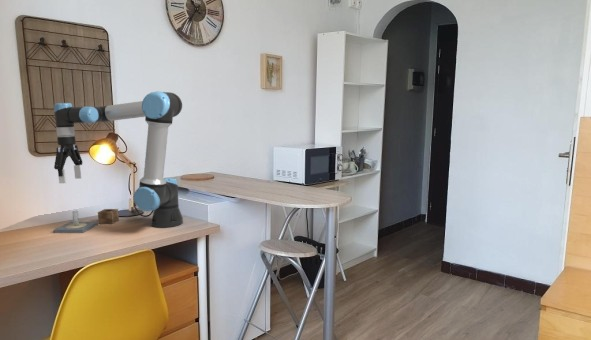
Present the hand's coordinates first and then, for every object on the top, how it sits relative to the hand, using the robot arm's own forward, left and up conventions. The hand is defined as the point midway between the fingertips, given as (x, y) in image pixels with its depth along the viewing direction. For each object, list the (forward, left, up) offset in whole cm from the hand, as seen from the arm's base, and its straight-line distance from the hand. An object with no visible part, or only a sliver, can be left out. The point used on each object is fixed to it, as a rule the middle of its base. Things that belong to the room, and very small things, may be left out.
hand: (70, 180), depth 206 cm
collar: (-12, -10, -23) cm, 28 cm away
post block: (-2, +2, -23) cm, 23 cm away
